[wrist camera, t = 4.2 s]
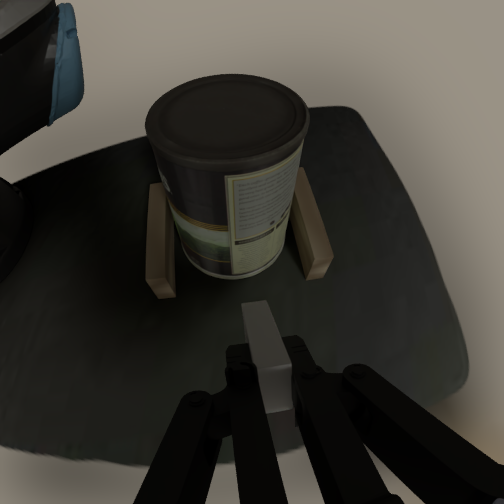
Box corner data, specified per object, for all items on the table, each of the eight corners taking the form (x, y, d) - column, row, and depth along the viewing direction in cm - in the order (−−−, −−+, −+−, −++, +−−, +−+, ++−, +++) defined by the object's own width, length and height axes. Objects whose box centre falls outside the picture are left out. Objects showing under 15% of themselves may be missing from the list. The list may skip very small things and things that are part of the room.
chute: (158, 298, 26) (145, 279, 22) (159, 209, 30) (150, 184, 27) (322, 277, 27) (333, 256, 23) (297, 193, 32) (302, 167, 28)
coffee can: (176, 281, 26) (125, 167, 14) (185, 194, 32) (162, 77, 19) (291, 279, 27) (325, 161, 15) (281, 192, 32) (297, 74, 20)
